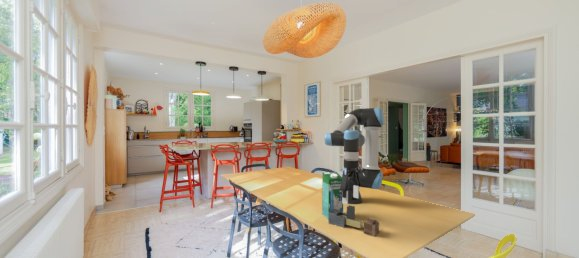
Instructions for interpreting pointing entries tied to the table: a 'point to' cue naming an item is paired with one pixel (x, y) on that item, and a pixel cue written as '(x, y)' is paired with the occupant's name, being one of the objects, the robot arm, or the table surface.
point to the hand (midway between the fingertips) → (350, 200)
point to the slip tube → (352, 218)
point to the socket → (371, 227)
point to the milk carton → (331, 193)
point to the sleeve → (337, 218)
